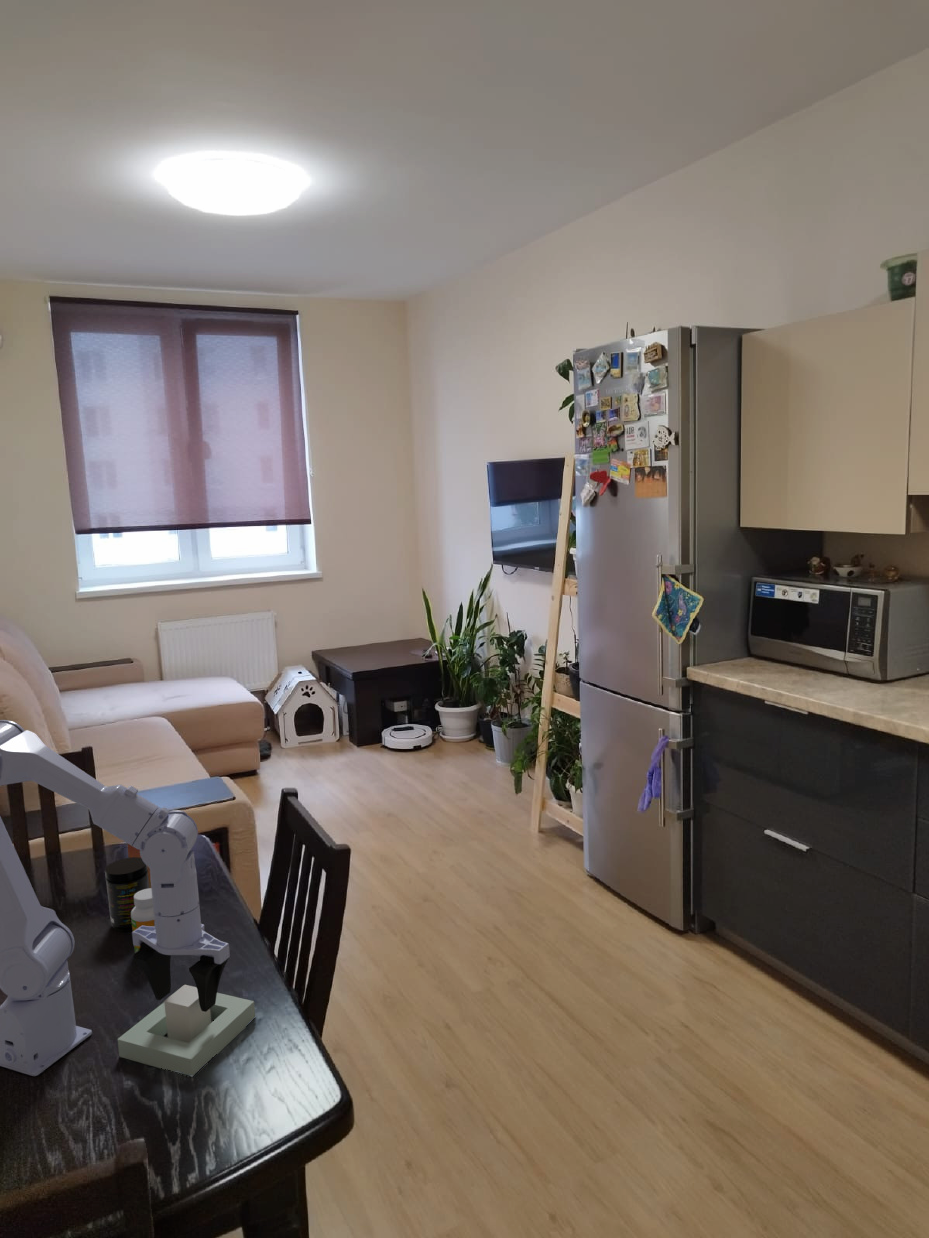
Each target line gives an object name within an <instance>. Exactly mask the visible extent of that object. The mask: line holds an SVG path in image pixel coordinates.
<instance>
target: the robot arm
mask: <svg viewBox="0 0 929 1238" xmlns="http://www.w3.org/2000/svg"><path fill="white" fill-rule="evenodd" d="M24 782H33V783H35V784H38V785H40V786H42V787H43V788H46V789H47V790H49V791H51V792H53V793H56V794H58V795H59V796H62V797H63V798H66V799H68V800H69V801H71V802H74V803H75V804H77V805H79V806H81V807H83V808H85V809H88V811H89V812H90V817H91V820H92V823H93V825H96V826H97V827H99V828H100V829H102V830H103V831H105V832H107V833H109V834H111V835H112V836H114V837H115V838H118V839H119V840H121V841H123V842H124V843H126V844H127V843H128V844H129V845H131V846H132V845H133V847H135V848H136V849H139V850H140V856H141V858H142V860H143V862H144V863H145V864H146V865H147V866H148V867H149V868H150V875H151V878H150V880H151V889H152V899H153V909H154V920H155V927H153V926H143V925H142V926H141V927H139V928H138V929H136V930H135V931H133V930H132V932H131V937H132V944H133V946H134V945H135V946H140V948H139V951H137V952H136V953H135V952H134V953H133V957H132V958H133V962H135V963H136V965H137V966H138V967H139V968H140V969H141V971H142V972H143V974H144V976H145V977H146V979H147V981H148V983H149V985H150V986H149V987H150V988H151V990H152V992H153V995H154V998H155V999H156V1001H161V1000H162V999H163V998H165V997H166V996H167V995H169V994H170V993H171V990H172V989H171V987H172V979H171V959H172V956H196V957H199V960H198V961H197V962H195V963H194V964H192V965H191V966H190V967H188V971H189V973H190V975H191V977H192V978H193V981H194V984H195V987H197V990H198V997H199V1004H200V1008H201V1010H202V1011H204V1012H206V1011H208V1010H209V1009H210V1008H211V1007H212V1006H213V1005H215V1003H216V996H217V993H218V990H219V984H220V981H221V977H222V974H223V972H224V969H225V967H226V964H227V963H228V960H229V958H230V957H231V956H230V955H231V953H230V944H229V943H228V942H226V941H222V940H220V939H218V938H216V937H214V936H213V935H211V934H210V933H208V932H206V931H205V924H203V923H202V920H201V910H200V896H199V885H198V876H197V868H196V861H195V859H196V858H195V851H194V850H193V847H195V846H194V845H195V844H196V842H197V839H198V837H199V829H198V825H197V823H196V821H195V820H194V819H193V817H191V816H190V815H188V814H187V812H186V811H184V810H180V809H179V810H177V809H171V810H170V809H168V808H167V807H165V806H164V807H162V808H161V807H159V806H158V805H156V804H155V803H154V802H152V801H149V800H148V799H147V798H144V796H141V795H140V794H138V792H139V789H137V788H135V787H134V786H133V785H129V786H128V787H126V786H125V785H122V784H115V785H110V786H106V785H104V784H103V783H101V782H100V781H99V780H97V779H95V778H94V777H93V776H92V775H90V774H88V773H87V772H85V771H84V770H82V769H81V768H79V767H78V766H76V765H75V764H74V763H72V762H71V761H69V760H67V759H66V758H65V757H63V756H62V755H60V754H58V753H57V752H56V751H54V750H53V749H51V748H50V747H48V746H47V745H46V744H45V743H44V742H43V740H42V739H41V738H40V737H39V736H38V735H37V733H35V732H33V731H31V730H29V729H24V728H23V727H22V726H21V724H18V723H17V722H16V721H13V720H7V719H0V788H1V787H2V786H6V785H13V784H18V783H19V784H20V783H24ZM75 944H76V943H75V937H74V934H73V933H72V931H71V929H70V928H69V927H68V926H67V925H65V924H64V923H62V921H61V920H60V919H59V917H58V916H57V914H56V911H55V910H54V909H52V908H48V907H44V906H42V905H41V904H40V901H39V899H38V897H37V895H36V892H35V891H34V888H33V887H32V884H31V882H30V879H29V876H28V875H27V873H26V870H25V868H24V865H23V864H22V861H21V860H20V857H19V855H18V853H17V850H16V847H15V845H14V844H13V841H12V839H11V837H10V835H9V833H8V831H7V829H6V826H5V824H4V821H3V818H2V817H1V816H0V990H1V991H2V993H4V994H5V995H6V996H7V997H6V998H5V1000H4V1001H3V1003H2V1004H0V1067H2V1068H6V1069H8V1070H12V1071H15V1072H18V1073H22V1074H25V1075H28V1076H32V1077H36V1076H39V1075H40V1074H41V1073H43V1072H44V1071H46V1069H48V1068H49V1067H51V1066H52V1065H53V1064H54V1063H56V1062H57V1061H58V1060H60V1059H61V1058H62V1057H64V1056H65V1055H66V1054H68V1053H69V1052H71V1050H73V1049H75V1047H78V1045H80V1043H81V1044H82V1042H83V1041H85V1040H86V1039H87V1038H89V1037H90V1036H91V1035H92V1034H93V1031H92V1029H90V1028H85V1027H82V1026H79V1025H77V1024H76V1023H77V1022H76V1018H75V1017H76V1014H75V1008H74V999H73V998H74V997H73V991H72V983H71V975H70V970H69V963H68V959H69V958H70V957H71V956H72V953H73V952H74V950H75Z"/></svg>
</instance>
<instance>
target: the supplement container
mask: <svg viewBox="0 0 929 1238" xmlns="http://www.w3.org/2000/svg"><path fill="white" fill-rule="evenodd" d="M104 873H105V874H104V875H105V881H106V890H107V891H106V892H107V900H108V908H109V916H110V924H111V927H112V928H113V929H114V930H116V931H119V932H131V931H132V932H133V930H132V921H131V911H132V909H133V908H134V907H135V905H134V895H135V894H136V893H137V892H139V891H141V890H144V889H148V888H149V879H148V868H147V865H146V864H145V863H144V862H143V860H142V858H139V857H131V858H128V857H125V858H122V859H117V860H114V861H113V862H110V863H109V864H107V866H106V867H105V868H104Z"/></svg>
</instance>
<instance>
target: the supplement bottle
mask: <svg viewBox="0 0 929 1238" xmlns="http://www.w3.org/2000/svg"><path fill="white" fill-rule="evenodd" d="M134 905H135V907H134V908H133V909H132V911H131V921H132V932H133V931H135V930H136V929H138V928H139V927H141V926H142V925H143V926H153V927H155V920H154V909H153V899H152V889H151V888H148V889H144V890H141V891H139V892H137V893H136V894H135V895H134ZM133 947H134V948H133V949H134V954H135V953H136V952H137V951H139V948H140V946H135V945H133Z"/></svg>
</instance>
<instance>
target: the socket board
mask: <svg viewBox="0 0 929 1238" xmlns="http://www.w3.org/2000/svg"><path fill="white" fill-rule="evenodd" d="M211 1008H212V1019H213V1020H214V1021H213V1022H212V1023H211V1024H209V1025H208V1026H207V1027H206V1028H205V1029H204V1030H203V1031H202V1032H200V1033H199V1034H198V1035H197V1036H196V1037H195V1038H194V1039H193V1040H191V1041H190V1042H189V1043H186V1042H182V1041H179V1040H175V1039H171V1038H168V1036H165V1035H166V1034H167V1035H168V1033H167V1024H166V1014H165V1005H164V1002H162V1003H161V1004H159V1005H158V1006H157V1007H156V1008H155V1009H154V1010H152V1011H151V1012H149V1014H147V1015H145V1017H144V1018H142V1019H141V1020H140V1021H139V1022H137V1023H136V1024H134V1026H132V1027H131V1028H130V1029H129V1030H127V1031H126V1032H125V1033H123V1034H122V1035H120V1037H118V1038H117V1040H116V1041H117V1047H118V1056H119V1057H120V1058H123V1059H126V1060H130V1061H133V1062H137V1063H140V1064H144V1065H147V1066H151V1067H155V1068H158V1069H161V1068H162V1069H161V1070H165V1069H166V1070H165V1071H168V1070H171V1071H170V1072H172V1071H179V1072H181V1073H182V1072H183V1073H184V1074H189V1075H194V1074H195V1073H196V1072H197V1071H199V1069H200V1068H201V1067H202V1066H203V1065H204V1064H206V1063H207V1062H208V1061H209V1060H210V1059H211V1058H212V1057H214V1056H215V1055H216V1054H217V1055H218V1054H219V1053H221V1051H222V1050H224V1048H225V1047H227V1046H228V1045H229V1044H230V1043H231V1042H232V1041H233V1040H234V1039H235V1038H236V1037H237V1036H238V1035H239V1034H240V1033H241V1032H243V1031H244V1030H245V1028H246V1027H245V1026H247V1024H248V1023H249V1022H250V1021H251V1020H253V1018H254V1017H255V1016H256V1006H255V1001H254V1000H250V999H246V998H241V997H238V996H234V995H230V994H229V995H228V994H224V993H220V992H217V996H216V1003H215V1005H213V1006H212V1007H211ZM253 1021H254V1020H253ZM217 1055H216V1056H217ZM216 1056H215V1057H216ZM215 1057H214V1058H215ZM207 1064H208V1063H207ZM207 1064H206V1065H207ZM167 1069H168V1070H167ZM199 1072H200V1071H199Z"/></svg>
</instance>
